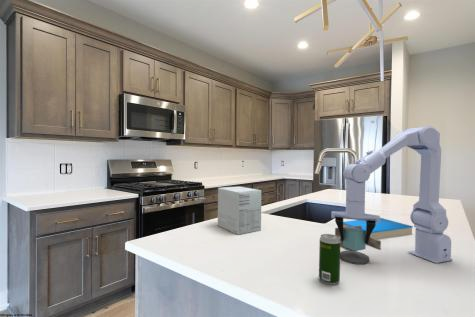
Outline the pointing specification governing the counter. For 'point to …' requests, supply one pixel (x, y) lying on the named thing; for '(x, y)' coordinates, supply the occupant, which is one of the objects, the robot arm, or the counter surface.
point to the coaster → (354, 257)
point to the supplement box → (239, 209)
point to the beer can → (329, 259)
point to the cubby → (371, 242)
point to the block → (354, 238)
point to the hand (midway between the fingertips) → (354, 241)
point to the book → (383, 228)
